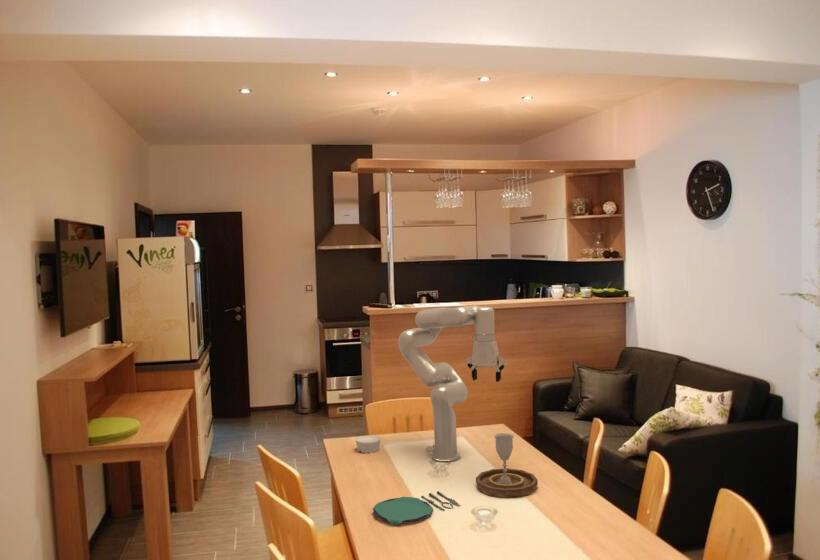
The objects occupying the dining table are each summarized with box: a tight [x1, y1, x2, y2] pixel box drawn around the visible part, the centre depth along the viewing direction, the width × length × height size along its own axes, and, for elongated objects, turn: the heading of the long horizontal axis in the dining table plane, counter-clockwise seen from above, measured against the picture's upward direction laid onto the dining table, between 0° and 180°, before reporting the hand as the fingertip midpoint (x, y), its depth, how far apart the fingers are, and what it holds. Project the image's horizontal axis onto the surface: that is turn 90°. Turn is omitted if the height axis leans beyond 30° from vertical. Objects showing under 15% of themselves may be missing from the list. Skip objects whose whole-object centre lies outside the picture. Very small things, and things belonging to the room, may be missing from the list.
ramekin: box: [355, 434, 382, 453], centre depth 288 cm, size 11×11×5 cm
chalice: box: [493, 432, 514, 485], centre depth 238 cm, size 7×7×18 cm
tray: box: [475, 467, 539, 499], centre depth 238 cm, size 22×22×3 cm
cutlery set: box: [372, 490, 462, 527], centre depth 220 cm, size 20×30×2 cm, turn 120°
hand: (486, 380), depth 255 cm, fingers open, 9 cm apart
